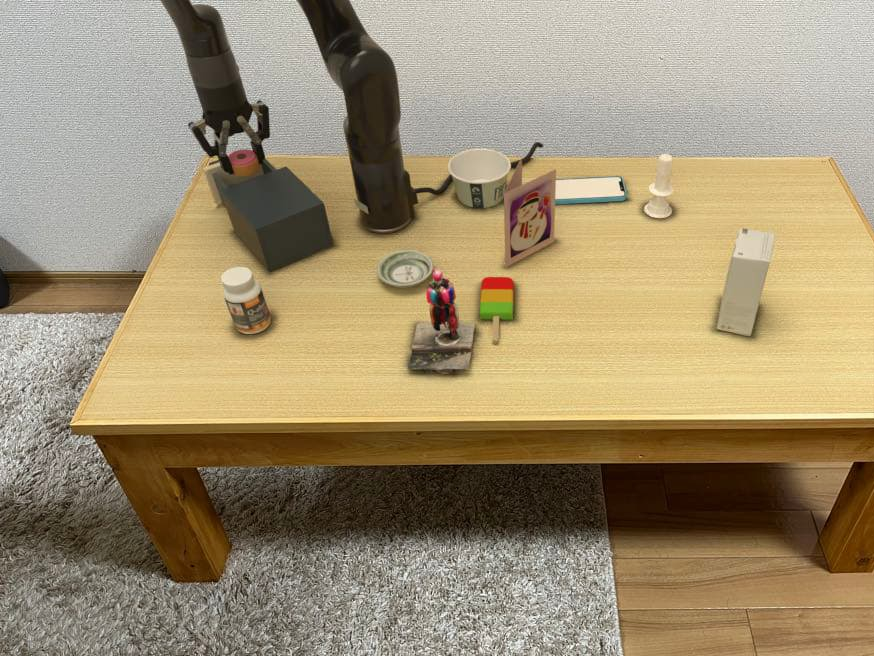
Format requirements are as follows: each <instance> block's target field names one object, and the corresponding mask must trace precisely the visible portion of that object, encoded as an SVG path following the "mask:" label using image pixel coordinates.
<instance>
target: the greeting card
mask: <svg viewBox="0 0 874 656" xmlns="http://www.w3.org/2000/svg"><path fill="white" fill-rule="evenodd" d="M522 159H523V157H521V158H520V159H519V160H520V162H519V164H518V166H516V168H515V170H514V173H513V174H512V176H511V177H510V180H509V182H508V184H507V185H506V188H505V192H504V198H503V214H504V215H503V217H504V220H503V221H504V252H505V258H504V259H505V268H507V267H509V266H511V265H513V264H515V263H516V262H518V261H521V260H523V259H524V258H526V257H528V256H529V255H532V254H533V253H535V252H537V251H539V250H541V249H544V248H545V247H547V246H549V245H552V243H554V242H555V221H556V220H555V219H556V218H555V216H556V204H555V191H556V179H557V168H554V169H553V170H551V171H549V172H546V173H545V174H542V175H540V176H537V177H536V178H534V179H531V180H529V181H527V182H525V183H523V164H522Z"/></svg>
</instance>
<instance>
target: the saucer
mask: <svg viewBox="0 0 874 656" xmlns="http://www.w3.org/2000/svg"><path fill="white" fill-rule="evenodd" d="M433 270H434V262H433V260H432V258H431V257H430V256H429V255H428V254H426V253H424V252H421V251H419V250H415V249H401V250H396V251H392V252H391V253H388V254H387V255H385V256H384V257H382V259H380V261H379V262H378V263H377V266H376V275H377V276H378V278H379V280H380V281H382V282H383V283H384V284H386V285H388V286H390V287H391V286H392V287H395V288H401V289H402V288H413V287H415V286H419V285H420V284H422V283H423V282H425V281H426V280H428V279H429V278H430V277H431V275H433Z"/></svg>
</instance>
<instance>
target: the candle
mask: <svg viewBox="0 0 874 656" xmlns="http://www.w3.org/2000/svg"><path fill="white" fill-rule="evenodd" d="M672 171H673V156H672V155H671V154H669V153H662V154H660V155H659V156H658V160H657V164H656V168H655V172H656V175H655V181H654V182H653V183H651V184H649V186H648V191H649V193H651V194H652V195H654V197H653V198H651V199H650V200H649V202H648V203H647V204H645V205H644V207H643V211H644V213H645V214H646V215H647V216H649V217H651V218H653V219H665V218H667V217H669V216H671V215H672V212H673V209H672V207H671V206H670V203H669V201H668V200H667V198H666V197H669V196H671V195H673V193H674V192H675V189H674V187H673V186H672V185H671V184H670V180H671V174H672Z"/></svg>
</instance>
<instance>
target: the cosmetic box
mask: <svg viewBox="0 0 874 656" xmlns="http://www.w3.org/2000/svg"><path fill="white" fill-rule="evenodd" d="M775 238H776V234H775V233H773V232H768V231H762V230H756V229H755V230H754V229H747V228H741V227H739V228H738V231H737V235H736V239H735V242H734V247H733V250H732V253H731V257H730V261H729V265H728V269H727V274H726V279H725V283H724V287H723V292H722V295H721V301H720V306H719V313H718V318H717V324H716V329H717V330H719V331H722V332H723V331H724V332H729V333H733V334H736V335H741V336H744V337H745V336H746V337H751V336H752V333H753V329H754V326H755V321H756V317H757V313H758V309H759V305H760V301H761V299H762V293H763V290H764V287H765V283H766V279H767V275H768V271H769V268H770V263H771V260H772V256H773V251H774V245H775Z"/></svg>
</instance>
